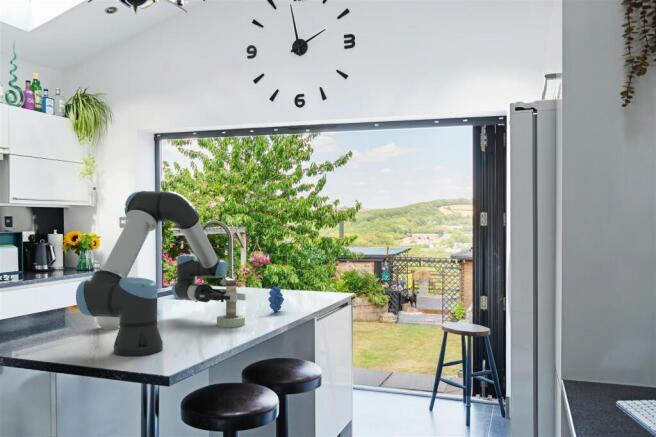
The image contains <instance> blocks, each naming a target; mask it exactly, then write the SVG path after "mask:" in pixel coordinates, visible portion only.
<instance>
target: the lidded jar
mask: <svg viewBox="0 0 656 437" xmlns="http://www.w3.org/2000/svg"><path fill="white" fill-rule="evenodd" d="M95 320H96V324H98V326H99V327H100V328H101V329H102V330H116V329H119V328H120V317H101V316H97V317H95Z"/></svg>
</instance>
